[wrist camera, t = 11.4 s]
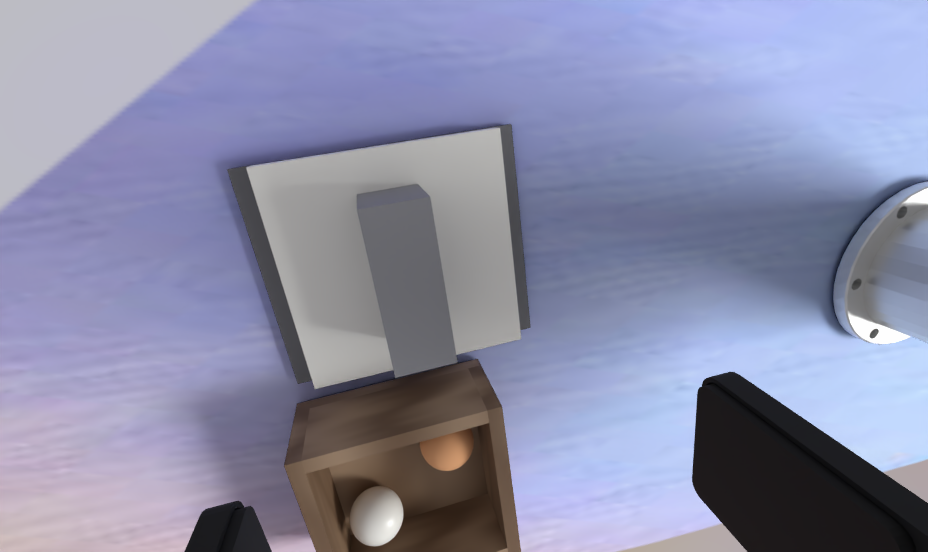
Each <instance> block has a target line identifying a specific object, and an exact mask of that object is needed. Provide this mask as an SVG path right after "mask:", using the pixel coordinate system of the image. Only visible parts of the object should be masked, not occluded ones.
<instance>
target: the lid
mask: <svg viewBox="0 0 928 552" xmlns="http://www.w3.org/2000/svg"><path fill="white" fill-rule="evenodd" d="M246 169H247V173H248V176H249V179H250V182H251V185H252V189H253V192H254V195H255V198H256V201H257V205H258V208H259V211H260V214H261V218H262V221H263V224H264V227H265V230H266V234H267V237H268V240H269V243H270V247H271V250H272V253H273V256H274V259H275V263H276V266H277V269H278V272H279V275H280V279H281V282H282V285H283V288H284V292H285V295H286V298H287V301H288V304H289V308H290V311H291V314H292V317H293V321H294V324H295V327H296V330H297V333H298V337H299V340H300V343H301V346H302V350H303V353H304V356H305V359H306V362H307V366H308V369H309V372H310V375H311V378H312V382H313V385H314V388H315V389H318V388H322V387H326V386H330V385H334V384H339V383H343V382H347V381H351V380H355V379H359V378H363V377H367V376H371V375H376V374H380V373H384V372H388V371H392V370H393V371H394V375H395V378H397V377H401V376H406V375H410V374H414V373H418V372H422V371H426V370H430V369H434V368H438V367H442V366H446V365H450V364H454V363H458V362H457V356H456V355H458V354H462V353H466V352H470V351H474V350H478V349H483V348H487V347H491V346H495V345H499V344H503V343H507V342H511V341H515V340H520V339H521V332H520V322H519V312H518V302H517V292H516V282H515V272H514V262H513V252H512V242H511V232H510V222H509V212H508V202H507V192H506V182H505V172H504V162H503V152H502V142H501V132H500V128H488V129H482V130H475V131H469V132H463V133H456V134H450V135H443V136H437V137H431V138H424V139H418V140H411V141H405V142H399V143H392V144H386V145H379V146H373V147H367V148H360V149H354V150H347V151H341V152H335V153H328V154H322V155H315V156H309V157H303V158H296V159H290V160H283V161H277V162H271V163H264V164H258V165H251V166H249V167H246Z"/></svg>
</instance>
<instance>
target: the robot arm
mask: <svg viewBox="0 0 928 552" xmlns="http://www.w3.org/2000/svg"><path fill="white" fill-rule="evenodd" d="M833 301H834V308H835V313H836V316H837V318H838V321H839V323H840V324H841V326H842V327H843V328H844V329H845V331H847V332H848V333H850V334H851V335H853V336H854V337H857V338H859V339H861V340H863V341H866V342H868V343H874V344H889V343H894V342H897V341H901V340H904V339H907V338H909V337H913V338H915V339H918V340H920V341H923V342H925V343H928V181H927V182H922V183H917V184H915V185H912V186H910V187H908V188H906V189H903V190H901V191H900V192H898V193H897V194H895V195H894V196H892V197H891V198H889V199H888V200H886V201H885V202H884V203H883V204H882V205H880V206H879V207H878V208H877V209H876V210H875V211H874V212H873V213H872V214H871V215H870V216H869V217H868V218H867V219H866V221H865V222H864V223H863V224H862V225H861V227H860V228H859V229H858V231H857V232H856V234H855V235H854V236H853V238H852V239H851V241H850V243H849V245H848V247H847V249H846V251H845V252H844V254H843V257H842V259H841V262H840V265H839V267H838V270H837V274H836V278H835V283H834V293H833ZM692 482H693V486H694V488H695V491H696V492H697V494H698V496H699V497H700V498H701V500H702V501H703V502H704V503H705V504H706V505H707V506H708V507H709V509H710V510H711V511H712V512H713V513H714V514H715V515H716V517H717V518H718V519H719V520H720V521H721V522H722V523H723V524H724V526H726V528H727V529H728V530H729V531H730V532H731V534H732V535H733V536H734V537H735V538H736V539H737V540H738V541H739V543H740V544H741V545H742V546H743V547H744V548H745V549H746V550H747V552H928V503H927V502H925V501H924V500H922V499H921V498H919V497H918V496H916V495H915V494H914V493H912V492H911V491H909V490H908V489H906V488H905V487H903V486H902V485H900V484H899V483H897V482H896V481H894V480H893V479H892V478H890V477H889V476H887V475H886V474H884V473H883V472H881V471H880V470H878V469H877V468H875V467H874V466H872V465H871V464H870V463H868V462H867V461H865V460H864V459H862V458H861V457H859V456H858V455H856V454H855V453H853V452H852V451H850V450H849V449H848V448H846V447H845V446H843V445H842V444H840V443H839V442H837V441H836V440H834V439H833V438H831V437H830V436H828V435H827V434H825V433H824V432H823V431H821V430H820V429H818V428H817V427H815V426H814V425H812V424H811V423H809V422H808V421H806V420H805V419H803V418H802V417H801V416H799V415H798V414H796V413H795V412H793V411H792V410H790V409H789V408H787V407H786V406H784V405H783V404H781V403H780V402H778V401H777V400H776V399H774V398H773V397H771V396H770V395H768V394H767V393H765V392H764V391H762V390H761V389H759V388H758V387H756V386H755V385H754V384H752V383H751V382H749V381H748V380H746V379H745V378H743V377H742V376H740V375H739V374H737V373H735V372H728V373H724V374H720V375H716V376H712V377H709V378H706V379H705V380H704V381H703V384H702V387H700V388H699V389H698V394H697V410H696V426H695V442H694V458H693V475H692ZM185 552H272V551H271V549H270V546H269V544H268V542H267V539H266V537H265V535H264V532H263V530H262V527H261V525H260V523H259V520H258V518H257V516H256V513H255V511H254V509H253V508H252V507H251V506H248V507H245V508H244V506H243V504H242V503H241V502H240V501H235V502H231V503H227V504H224V505H220V506H216V507H212V508H208V509H205V510H204V511H203V512H202V514H201V515H200V517H199V519H198V522H197V524H196V526H195V529H194V531H193V533H192V536H191V538H190V540H189V543H188V545H187V547H186V550H185Z"/></svg>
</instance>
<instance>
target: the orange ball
mask: <svg viewBox="0 0 928 552" xmlns="http://www.w3.org/2000/svg"><path fill="white" fill-rule="evenodd" d="M473 445H474V438H473V433H472V430H471V428H469V429H466V430H462V431H458V432H455V433H451V434H448V435H444V436H440V437H437V438H433V439H429V440H426V441H422V442H420V449H421V453H422V455H423V457H424V459H425V460H426V461H427V463H428V464H429V465H431V466H432V467H434V468H436V469H438V470H442V471H451V470H455V469H457V468H459V467H461V466H462V465H463V464H464V463H466V461H467V460H468V459H469V457H470V455H471V453H472V450H473Z"/></svg>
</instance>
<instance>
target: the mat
mask: <svg viewBox="0 0 928 552" xmlns="http://www.w3.org/2000/svg"><path fill="white" fill-rule="evenodd" d="M488 128H500V132H501V142H502V152H503V162H504V172H505V182H506V192H507V202H508V212H509V222H510V232H511V242H512V252H513V262H514V272H515V282H516V292H517V302H518V312H519V322H520V330H523V329H527V328H530V318H529V307H528V296H527V286H526V275H525V264H524V254H523V243H522V233H521V222H520V211H519V201H518V190H517V179H516V169H515V158H514V147H513V137H512V126H511V124H507V125H501V126H495V127H488ZM488 128H482V129H488ZM482 129H476V130H482ZM470 131H475V130H470ZM463 132H469V131H463ZM463 132H457V133H463ZM451 134H456V133H451ZM444 135H450V134H444ZM438 136H443V135H438ZM432 137H437V136H432ZM426 138H431V137H426ZM419 139H424V138H419ZM413 140H418V139H413ZM407 141H411V140H407ZM400 142H405V141H400ZM394 143H399V142H394ZM388 144H392V143H388ZM382 145H386V144H382ZM375 146H379V145H375ZM369 147H373V146H369ZM363 148H367V147H363ZM357 149H360V148H357ZM350 150H354V149H350ZM344 151H347V150H344ZM338 152H341V151H338ZM331 153H335V152H331ZM325 154H328V153H325ZM319 155H322V154H319ZM313 156H315V155H313ZM306 157H309V156H306ZM300 158H303V157H300ZM294 159H296V158H294ZM288 160H290V159H288ZM281 161H283V160H281ZM275 162H277V161H275ZM269 163H271V162H269ZM262 164H264V163H262ZM256 165H258V164H256ZM250 166H251V165H250ZM246 167H249V166H244V167H237V168H231V169H227V171H228V174H229V177H230V180H231V183H232V186H233V189H234V192H235V195H236V198H237V201H238V204H239V207H240V210H241V213H242V216H243V219H244V222H245V225H246V228H247V231H248V234H249V237H250V240H251V243H252V246H253V249H254V252H255V255H256V258H257V261H258V265H259V268H260V271H261V274H262V277H263V280H264V283H265V286H266V289H267V292H268V295H269V298H270V301H271V304H272V307H273V310H274V313H275V316H276V319H277V322H278V325H279V328H280V331H281V334H282V337H283V340H284V343H285V346H286V349H287V352H288V355H289V358H290V361H291V364H292V368H293V371H294V374H295V377H296V380H297V383H298V384H300V383H304V382H308V381H312V378H311V375H310V372H309V369H308V366H307V362H306V359H305V356H304V353H303V350H302V346H301V343H300V340H299V337H298V333H297V330H296V327H295V324H294V321H293V317H292V314H291V311H290V308H289V304H288V301H287V298H286V295H285V292H284V288H283V285H282V282H281V279H280V275H279V272H278V269H277V266H276V263H275V259H274V256H273V253H272V250H271V247H270V243H269V240H268V237H267V234H266V230H265V227H264V224H263V221H262V218H261V214H260V211H259V208H258V205H257V201H256V198H255V195H254V192H253V189H252V185H251V182H250V179H249V176H248V173H247V169H246Z"/></svg>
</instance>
